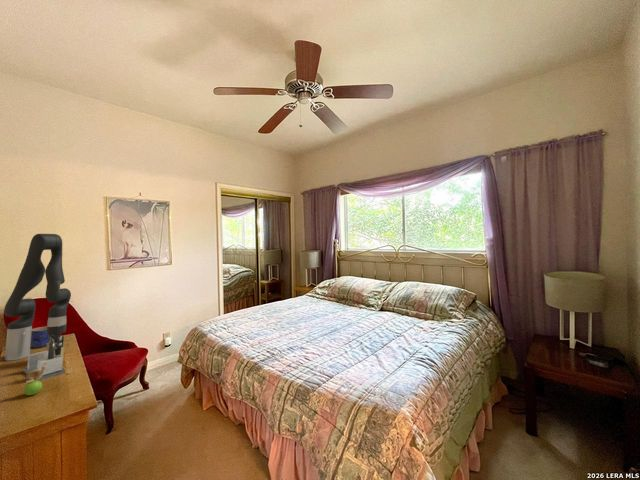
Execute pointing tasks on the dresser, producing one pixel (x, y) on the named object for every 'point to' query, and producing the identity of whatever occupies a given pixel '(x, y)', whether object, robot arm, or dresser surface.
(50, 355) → the free jaw
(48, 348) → the brass block
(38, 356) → the vise
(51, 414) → the dresser surface
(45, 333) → the planter
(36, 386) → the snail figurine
